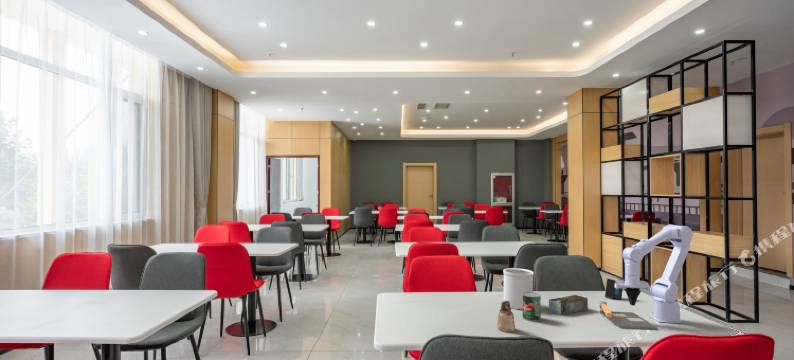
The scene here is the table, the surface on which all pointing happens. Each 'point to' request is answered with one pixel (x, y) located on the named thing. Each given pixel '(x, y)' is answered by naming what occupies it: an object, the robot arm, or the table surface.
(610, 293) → the speaker
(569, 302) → the beverage carton
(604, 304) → the swing arm
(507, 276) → the utensil holder
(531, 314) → the canned tomato
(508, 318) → the figurine
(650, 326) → the panel
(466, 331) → the table surface
